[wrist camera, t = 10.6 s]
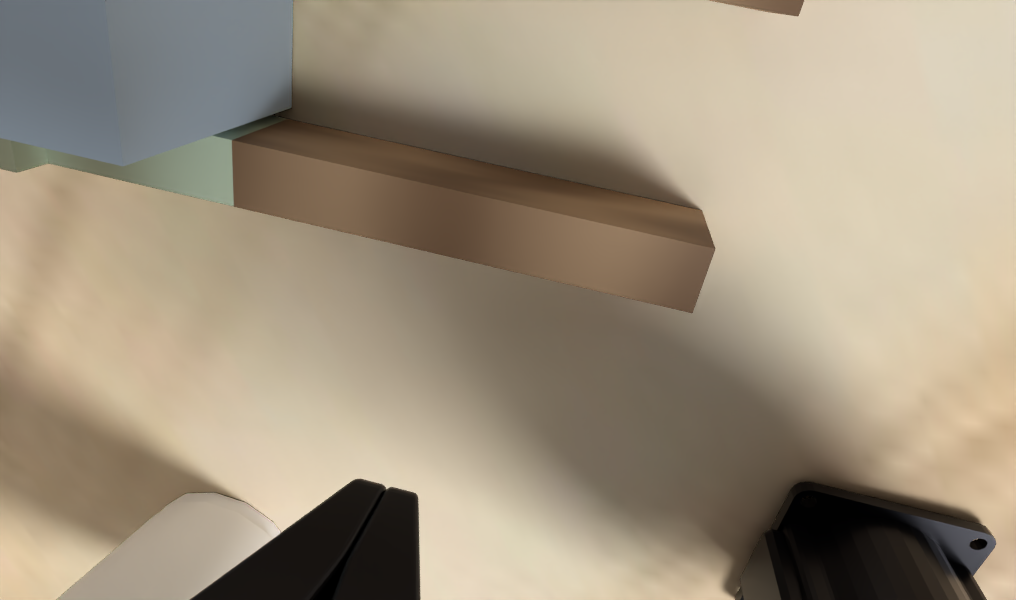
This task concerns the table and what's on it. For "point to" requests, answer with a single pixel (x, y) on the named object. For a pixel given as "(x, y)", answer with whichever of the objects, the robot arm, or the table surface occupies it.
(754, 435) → the table surface
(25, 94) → the block
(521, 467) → the table surface
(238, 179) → the u-shaped frame
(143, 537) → the foam cup
